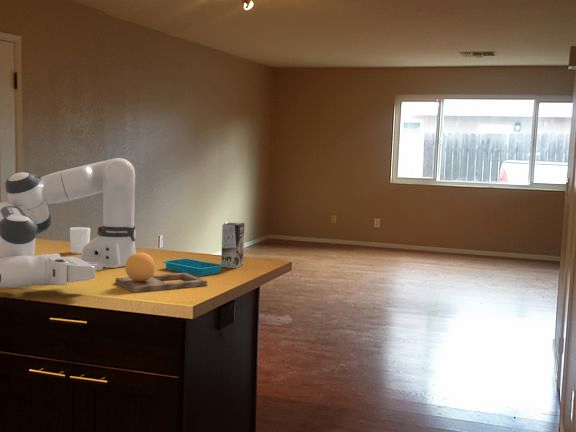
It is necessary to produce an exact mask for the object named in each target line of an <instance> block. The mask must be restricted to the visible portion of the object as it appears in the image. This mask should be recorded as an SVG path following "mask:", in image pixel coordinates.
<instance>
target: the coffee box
mask: <svg viewBox="0 0 576 432" xmlns="http://www.w3.org/2000/svg"><path fill="white" fill-rule="evenodd" d="M221 232H222V233H221V255H220V256H221V257H220V258H221V262H220V263H221V265H223V266H222V267H221V268H225V267H226V268H227V269H238V268H240V267H242V266H243V265H244V259H245V258H244V257H245V252H244V251H245V222H226V223H223V224H222V230H221Z"/></svg>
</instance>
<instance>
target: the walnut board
mask: <svg viewBox="0 0 576 432" xmlns="http://www.w3.org/2000/svg"><path fill="white" fill-rule="evenodd" d="M171 280H173V281H174V280H183V281H174V282H173V281H172V282H164V281H171ZM114 281H115V284H116V285H119V286H120V287H122V288H124V289H126V290H128V291H130V292H132V293H142V292H143V293H144V292H153V291H155V292H157V291H163V290H164V291H165V290H174V289H177V290H178V289H186V288H195V287H207V286H208V280H205V279H203V278H200V277H199V276H197V275H192V274H188V273H182V272H177V273H176V272H175V273H174V272H173V273H162V274H153V275H152V276H151V278H149V279H148V280H146V281H142V282H138V281H134V280H132V279H131V278H130V277H129V276H127V277H115V280H114Z"/></svg>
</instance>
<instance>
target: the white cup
mask: <svg viewBox="0 0 576 432" xmlns="http://www.w3.org/2000/svg"><path fill="white" fill-rule="evenodd" d="M69 239H70V252H71V254H78V255H81V253H82V250H83V247H84V246H85V245H86V244H88V243H89V242H90V241H91V227H86V226H75V227H74V226H73V227H70V228H69Z"/></svg>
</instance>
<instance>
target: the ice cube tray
mask: <svg viewBox="0 0 576 432" xmlns="http://www.w3.org/2000/svg"><path fill="white" fill-rule="evenodd" d="M162 263H163V264H165V269H166V270H168V271H174V272H177V273H188V274H191V275H193V276H196V277H203V276H210V275H214V274H215V273H216V274H220V273H221V272H220V271H221V268H223V267H222V266H223V265H221V264H219V263H216V262H208V261H205V260H204V261H203V260H198V259H197V260H196V259H192V258H177V259H172V260H171V259H170V260H164V261H163V262H162ZM209 274H210V275H209Z"/></svg>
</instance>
